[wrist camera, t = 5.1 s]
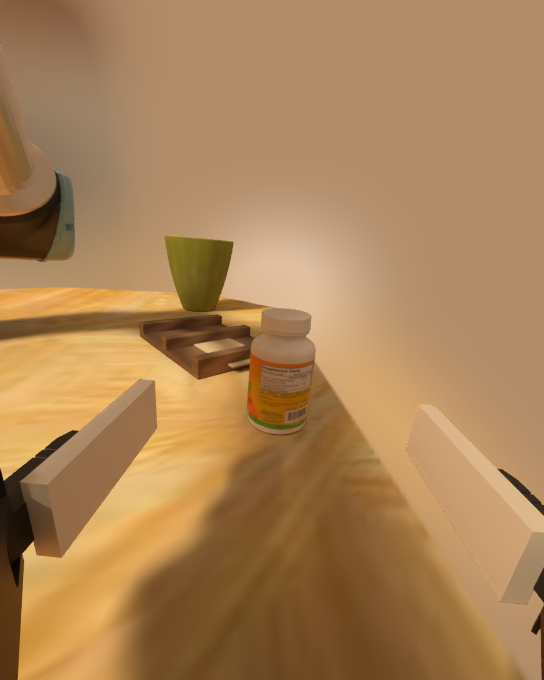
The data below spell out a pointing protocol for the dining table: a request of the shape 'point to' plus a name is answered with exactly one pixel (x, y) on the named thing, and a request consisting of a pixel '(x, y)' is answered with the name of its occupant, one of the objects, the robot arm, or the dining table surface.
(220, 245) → the flower pot
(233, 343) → the slot board
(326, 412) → the dining table surface
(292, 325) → the supplement bottle
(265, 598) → the dining table surface
